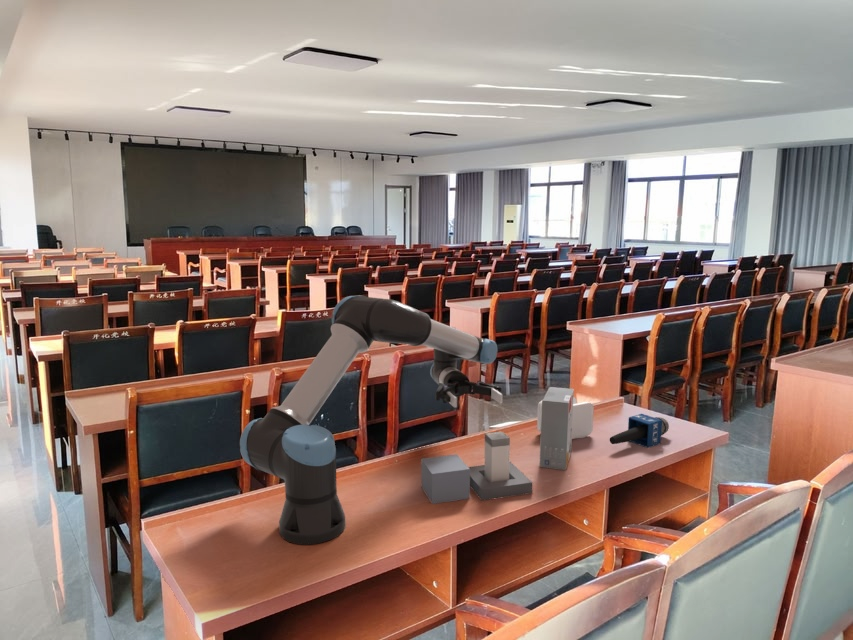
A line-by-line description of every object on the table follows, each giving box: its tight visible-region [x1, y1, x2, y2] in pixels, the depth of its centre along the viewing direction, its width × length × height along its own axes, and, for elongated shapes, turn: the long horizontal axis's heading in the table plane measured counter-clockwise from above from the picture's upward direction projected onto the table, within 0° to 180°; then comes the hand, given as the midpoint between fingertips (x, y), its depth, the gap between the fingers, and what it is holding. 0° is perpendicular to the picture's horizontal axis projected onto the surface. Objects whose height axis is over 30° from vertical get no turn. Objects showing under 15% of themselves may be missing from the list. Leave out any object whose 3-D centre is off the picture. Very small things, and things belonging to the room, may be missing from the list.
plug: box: [484, 430, 511, 482], centre depth 162 cm, size 5×5×14 cm
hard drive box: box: [538, 386, 575, 471], centre depth 179 cm, size 16×8×20 cm, turn 161°
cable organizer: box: [536, 396, 594, 440], centre depth 199 cm, size 15×11×12 cm
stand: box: [420, 453, 471, 505], centre depth 159 cm, size 10×10×8 cm
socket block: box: [468, 461, 533, 501], centre depth 163 cm, size 14×14×3 cm
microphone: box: [609, 413, 670, 449], centre depth 191 cm, size 8×8×25 cm
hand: (478, 400), depth 171 cm, fingers open, 13 cm apart
